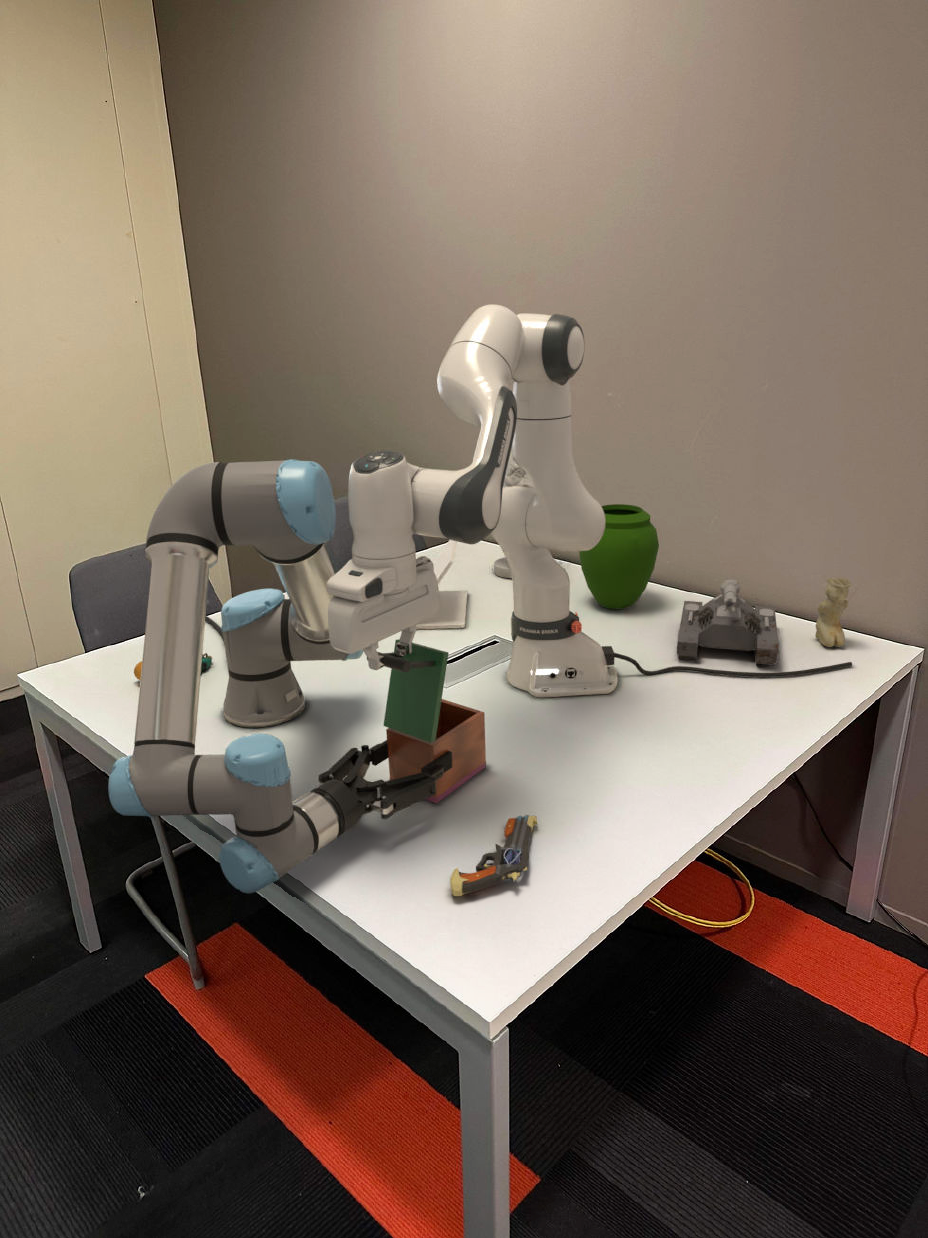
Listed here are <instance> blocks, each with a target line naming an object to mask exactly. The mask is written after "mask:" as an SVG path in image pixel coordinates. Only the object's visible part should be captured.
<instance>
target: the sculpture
mask: <svg viewBox="0 0 928 1238" xmlns="http://www.w3.org/2000/svg"><path fill="white" fill-rule="evenodd" d="M826 581H827V586H826V588H825V590H824V593H825V595H826V596H827V598H826V600H824V601H822V602H821V603H820V604H819V605H818V606H817V609H816V610H817V612H818V614H819V616H818V617H817V619H816V623H815V630H816V631H815V634H814V635H815V639H817V640H819V642H820V643H821V644H822V645H823V646H825V647H827V648H832V647H834V646H835V647H843V646H844V645H845V643H846V642H845V641H846V636H845V632H844V630H843V626H842V624H841V622H840V621H841V617H842V615H843V612H844V610H845V609H846V608H847V606H848V604H849V603H848V602H849V601H847V598H848V597H849V592H850V586H851V585H852V582H850V580H848V579H847V578H845V577H841V576H840V577H835V578H831V577H827V578H826Z"/></svg>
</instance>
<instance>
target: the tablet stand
mask: <svg viewBox="0 0 928 1238" xmlns="http://www.w3.org/2000/svg"><path fill="white" fill-rule="evenodd" d="M457 545H458V541H453V540H449V539H448V542H447V543H446V544H445V546H444V548H443V549H442V551H441V552H440V554H439V555H438V556H437V558H436V559H435V561H434V562H433V566H434V573H435V575H436V578H437V583H438V585H440V582H441V581H442V580H443V578H444V577H445V575H446V574H447V573H448V571H449V570H450V569H451V567H452V566H453V564H454V562H455V558H456V553H457ZM439 597H440V608H439V611H438V613H437V614H436V615H435V616H432V617H430V618H428V619H426V620H424V621H422V622H420V623H417V624H416V630H426V629H427V630H429V629H430V630H431V629H435V630H436V629H437V630H438V629H464V628H465V627H466V618H467V617H466V616H467V605H468V591H467V590H439Z"/></svg>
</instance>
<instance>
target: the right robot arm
mask: <svg viewBox="0 0 928 1238" xmlns="http://www.w3.org/2000/svg"><path fill="white" fill-rule="evenodd" d="M585 344H586V343H585V335H584V331H583V329H582V326H581V325H580V324H579V322H578V321H577V320H576V318H574V317H572V316H569V315H565V314H561V313H554V314H552V315H550V314H544V313H543V314H542V313H531V312H530V313H529V312H528V313H526V312H525V313H524V312H523V313H518V314H517V313H515V312H514V311H512V309H510V308H508V307H506V306H504V305H501V304H494V303H493V304H492V303H490V304H485V305H483V306H480V307H478V308H477V309H476V310H474V311H473V312H472V313H471V315H470V316H469V317H468V318H467V320H466V321H465V322H464V323H463V325H461V327H460V329H459V330H458V332H457V333H456V335H455V337H454V338H453V340H452V342H451V344H450V345H449V347H448V349H447V351H446V353H445V355H444V357H443V359H442V361H441V363H440V365H439V369H438V371H437V376H436V387H437V392H438V394H439V397H440V399H441V401H442V403H443V405H444V406H445V407H446V408H447V410H448V411H449V412H450V413H451V414H452V415H453V416H455V418H457V419H459V420H460V421H462V422H464V423H466V424H469V425H471V426H473V427H476V428H477V429H479V434H478V438H477V442H476V445H475V450H474V454H473V458H472V462H471V464H470V465H468V466H467V467H464V468H461V469H458V470H449V469H438V468H437V469H436V468H429V467H420V466H419V465H414V464H411V463H409V462H408V460H407V459H406V456H405V455H404V454H403V453H401V452H399V451H396V450H377V451H373V452H368V453H365V454H362V455H361V456H359V457H358V458H356V459H355V460H354V461H353V462H352V464H351V466H350V470H349V476H348V487H347V489H348V490H347V497H348V498H347V499H348V500H347V501H348V504H347V505H348V519H349V524H350V528H351V530H352V534H353V541H352V545H351V558H350V559H349V560H348V561H347V562H346V563H345V564H344V566H342V568H341V569H340V570H339V571H337V572H336V573H335V575H334V576H332V577H331V578H330V579H329V580H328V581H327V592H328V594H330V595H333V598H332V599H331V600H330V603H329V606H328V629H329V639H330V643H331V645H332V646H333V647H334V649H336V650H337V651H340V652H344V653H347V654H354V653H356V652H358V651H360V650H363V654H364V655H365V656H366V658H367V657H368V660H367V662H368V668H369V669H370V670H373V671H378V670H380V669H382V668H384V667H385V666H384V656H381V655H378V653H377V652H378V651H377V649H379V643H380V642H381V641H383V640H386V639H388V638H390V637H392V636H393V635H396V634H398V633H400V632H401V633H400V637H399V639H400V641H399V642H398V643H396V648H397V650H396V652H397V654H398V655H402V656H406V655H408V654H410V653H411V652H412V647H411V643H413V640H414V638H415V636H416V632H417V629H416V624H417V623H420V622H422V621H424V620H426V619H428V618H430V617H432V616H435V615H436V614H437V613H438V611H439V608H440V597H439V591H440V589H439V584H438V583H437V578H436V575H435V573H434V566H433V564H434V562H433V561H432V560H431V558H429V557H427V556H426V555H421V556H419V557H417V555H416V544H415V541H414V537H413V535H419V536H424V537H432V538H441V539H447V540H448V541H449V540H453V541H457V543H462V544H466V545H477V544H479V542H481V541H484V540H485V539H486V538H487V537H488V536H489V535H490V536H491V537H492V538H493V539H494V540H495V542H496V543H497V544H498V546H499V548H500V549H501V551H502V552H503V555H504V558H505V557H506V559H507V562H508V564H509V567H510V571H511V575H512V578H511V580H512V581H511V582H512V594H513V596H512V597H513V611H512V612H511V618H510V635H511V640H512V645H511V646H512V647H511V655H510V660H509V665H508V669H507V672H506V675H505V678H506V681H507V683H509V684H510V685H511V686H513V687H515V688H517V689H519V690H522V691H525V692H527V693H529V694H530V695H531V696H533V697H535V698H556V697H572V696H573V697H574V696H588V695H589V696H590V695H591V696H592V695H607V694H611V693H612V692H613V691H615V690H616V688H617V686H618V673H617V670H616V668H615V667H614V666H615V661H616V659H619V660H623V661H626V662H629V663H630V664H632V665H633V666H635V668H636V669H637V671H638V672H640V673H641V674H642V675H646V676H656V675H657V676H658V675H661V674H665V673H669V672H672V671H673V672H674V671H685V672H686V671H688V672H696V673H704V674H711V675H712V674H713V675H723V676H734V677H748V678H749V677H751V678H753V677H755V678H756V677H757V678H771V677H772V678H773V677H774V678H775V677H777V678H778V677H792V676H801V675H802V676H803V675H809V674H814V673H821V672H826V671H832V670H837V669H843V668H848V667H852V666H853V662H852V661H848V662H842V663H837V664H832V665H826V666H821V667H815V668H807V669H801V670H792V671H777V672H776V671H775V672H774V671H773V672H755V671H754V672H752V671H750V672H749V671H736V670H735V671H734V670H722V669H712V668H703V667H695V666H685V665H676V666H675V665H674V666H669V667H665V668H661V669H658V670H646V669H644V668H642V666H641V665H640V663H639V662H638V661H637V660H636V659H634V658H633V657H630V656H627V655H625V654H620V653H617V652H615V651H614V648H613V646H612V645H601V644H600V643H599V642H598V641H596V640H595V639H593V638H591V637H590V636H589V635H587V634H586V633H585V632H583V631H582V630H583V626H582V625H583V624H582V622H581V621H580V616H579V615H578V612H577V611H575V613H574V612H573V611H571V610H570V590H571V589H570V586H571V585H570V584H571V581H570V576H569V574H568V572H567V571H566V569H565V568H564V567H563V566H562V565H561V564H560V563H558V562H557V560H555V558H554V557H553V555H552V553H551V551H550V550H554V551H561V552H568V553H569V552H579V551H588V550H591V549H592V548H594V547H595V546H596V545H597V544H598V543H599V541H600V540H601V538H602V536H603V534H604V530H605V524H606V520H605V514H604V511H603V508H602V507H601V506H602V505H601V503H600V502H599V501H598V500H597V499H595V498H594V496H593V495H591V493H590V492H589V490H588V489H587V488H586V486H585V485H584V483H583V481H582V479H581V477H580V475H579V472H578V470H577V466H576V463H575V459H574V453H573V452H574V451H573V425H572V424H573V422H572V421H573V417H572V416H573V415H572V414H573V408H572V407H573V405H572V392H571V391H572V390H571V383H570V379H571V378H573V377H574V376H575V375H576V374H577V373H578V372H579V370H580V368H581V367H582V365H583V361H584V356H585V347H586V345H585ZM511 384H512V390H511V389H510V386H511ZM511 449H512V455H513V459H514V461H515V462H516V464H517V465H518V466H519V467H520V468H522V469H523V470H524V471H525V472H526V473H527V474H528V475H529V476H530V478H531V480H532V482H533V484H534V486H535V488H529V487H522V486H511V487H503V484H504V479H505V475H506V470H507V466H508V461H509V457H510V452H511Z"/></svg>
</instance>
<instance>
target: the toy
mask: <svg viewBox="0 0 928 1238" xmlns="http://www.w3.org/2000/svg"><path fill="white" fill-rule="evenodd" d="M719 589H720V594H718V595H717V596H715V597H714V598H712V599H711V600H709V601H707V602H706V603H704V604H703V601H693V600H684V601H683V607H682V611H681V616H680V623H679V628H678V629H679V630H678V634H677V643H676V645H677V646H676V654H677V658H678V659H683V660H695V661H696V660H697V657H698V647H699V646H700V647H703V648H706V649H707V648H708V649H718V650H719V649H720V650H730V651H731V650H733V651H745V652H750V651H754V662H755V663H754V664H756V665H769V666H775V664H777V661H778V657H779V650H780V644H779V635H778V626H777V624H778V623H777V616H776V608H775V607H774V606H764V605H754V607H753V606H752V605H751V604H750V603H749V602H747V600H745V598H742V597H741V595H738V594H740V591H741V586H740V582H738V581H737V580H736V579H732V578H731V579H730V578H728V579H726V580H725V581H723V582H722V583H721V585H720V588H719Z"/></svg>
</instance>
